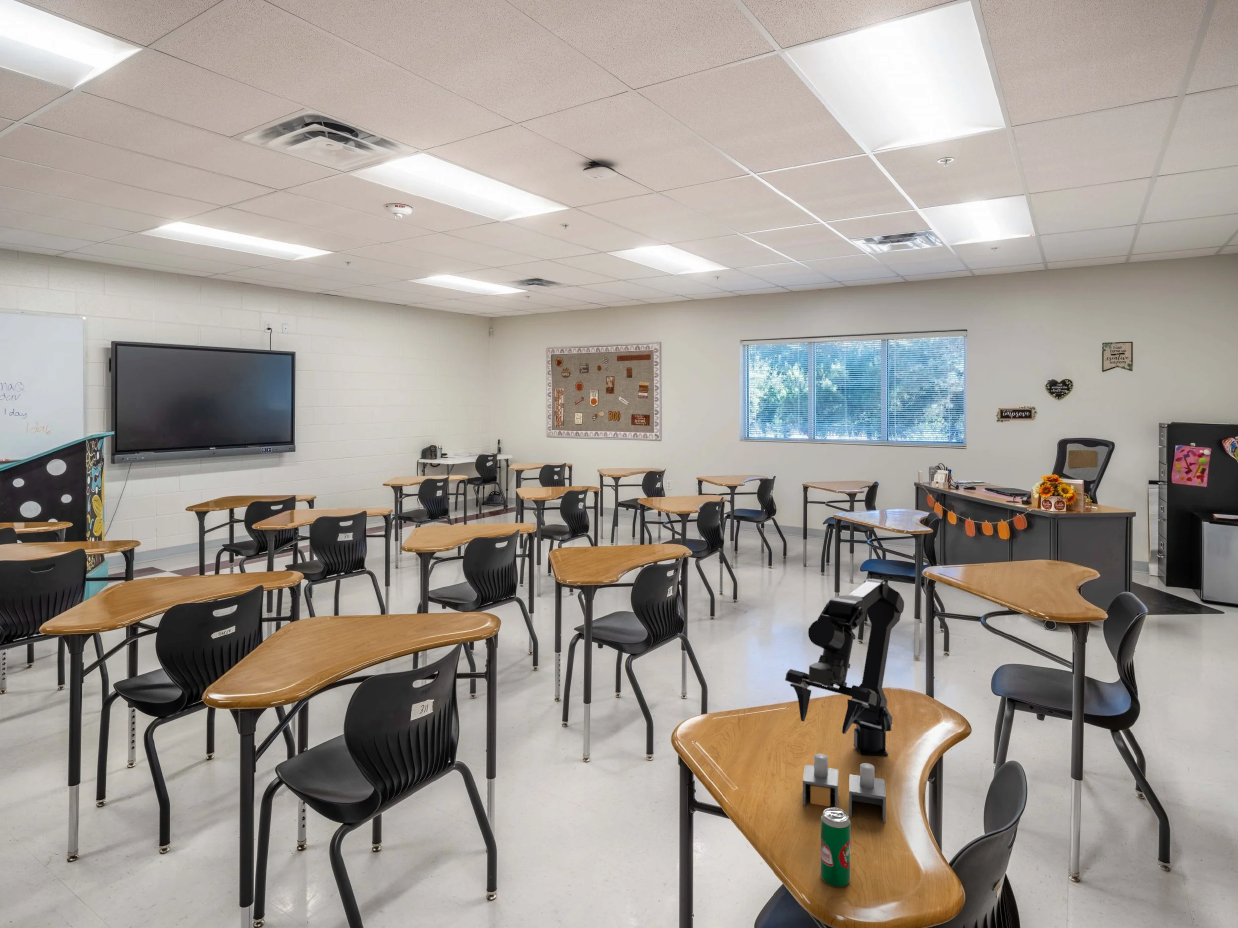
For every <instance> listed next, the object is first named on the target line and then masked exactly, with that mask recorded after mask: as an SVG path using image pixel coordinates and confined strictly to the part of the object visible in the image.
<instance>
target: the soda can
mask: <svg viewBox="0 0 1238 928" xmlns="http://www.w3.org/2000/svg"><path fill="white" fill-rule="evenodd" d="M851 823H852V821H851V819H850V817H849V813H847V812H846V811H845V810H843V809H841V808H835V807H827V808H825V809H824V810H823V811H822V814H821V816H820V877H821V878H822V880H823V881H824V882H825V884H826V885H827V884H828V886H831V887H834V888H843V887H845V886H846V885H848V884H849V883H850V881H851V843H852V841H851V837H852V836H851V834H852V833H851V832H852V831H851V830H852V825H851Z"/></svg>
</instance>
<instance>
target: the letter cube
mask: <svg viewBox="0 0 1238 928" xmlns="http://www.w3.org/2000/svg"><path fill="white" fill-rule="evenodd" d="M831 796H832V794H831V788H830V787H824V786H817V785H811V791H810V804H814V805H818V806H819V805H820V806H825V807H831V799H832V798H831Z"/></svg>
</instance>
